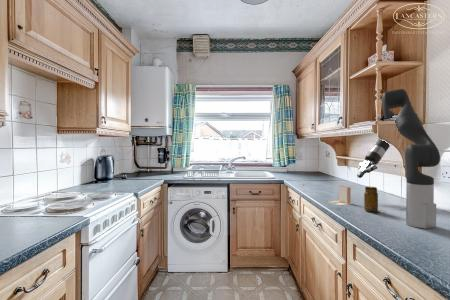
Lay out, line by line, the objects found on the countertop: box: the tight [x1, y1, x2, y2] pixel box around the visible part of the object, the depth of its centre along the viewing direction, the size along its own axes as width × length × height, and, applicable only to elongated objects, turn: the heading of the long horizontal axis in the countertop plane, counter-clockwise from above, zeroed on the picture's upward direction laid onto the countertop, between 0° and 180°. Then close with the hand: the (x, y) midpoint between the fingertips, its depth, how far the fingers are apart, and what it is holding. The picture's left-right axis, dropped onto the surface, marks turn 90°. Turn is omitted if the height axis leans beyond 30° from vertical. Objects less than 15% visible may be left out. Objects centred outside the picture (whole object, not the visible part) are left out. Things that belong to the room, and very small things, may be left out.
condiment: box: [363, 186, 385, 215], centre depth 136 cm, size 7×8×12 cm
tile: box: [338, 185, 352, 205], centre depth 155 cm, size 7×2×9 cm, turn 19°
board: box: [329, 200, 353, 206], centre depth 155 cm, size 9×9×1 cm
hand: (358, 176), depth 159 cm, fingers closed
